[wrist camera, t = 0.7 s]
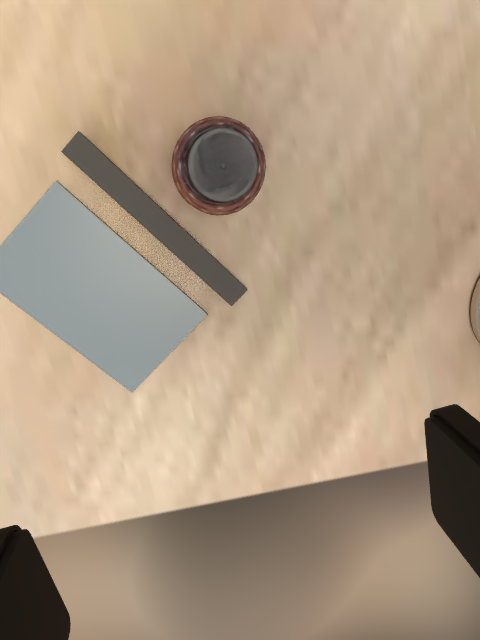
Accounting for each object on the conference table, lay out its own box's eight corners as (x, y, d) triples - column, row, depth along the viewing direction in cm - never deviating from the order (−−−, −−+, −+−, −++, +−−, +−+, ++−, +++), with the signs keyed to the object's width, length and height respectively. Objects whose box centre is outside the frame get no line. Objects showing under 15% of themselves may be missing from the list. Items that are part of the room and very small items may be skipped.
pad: (56, 181, 34) (55, 181, 34) (207, 313, 39) (207, 314, 39) (-23, 274, 36) (-24, 274, 36) (132, 391, 41) (132, 392, 40)
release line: (79, 131, 34) (78, 131, 33) (246, 288, 39) (247, 289, 39) (62, 151, 34) (61, 151, 34) (231, 304, 39) (231, 306, 39)
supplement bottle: (261, 181, 36) (295, 183, 26) (202, 222, 37) (210, 241, 26) (221, 114, 35) (238, 85, 24) (158, 158, 35) (148, 150, 24)
